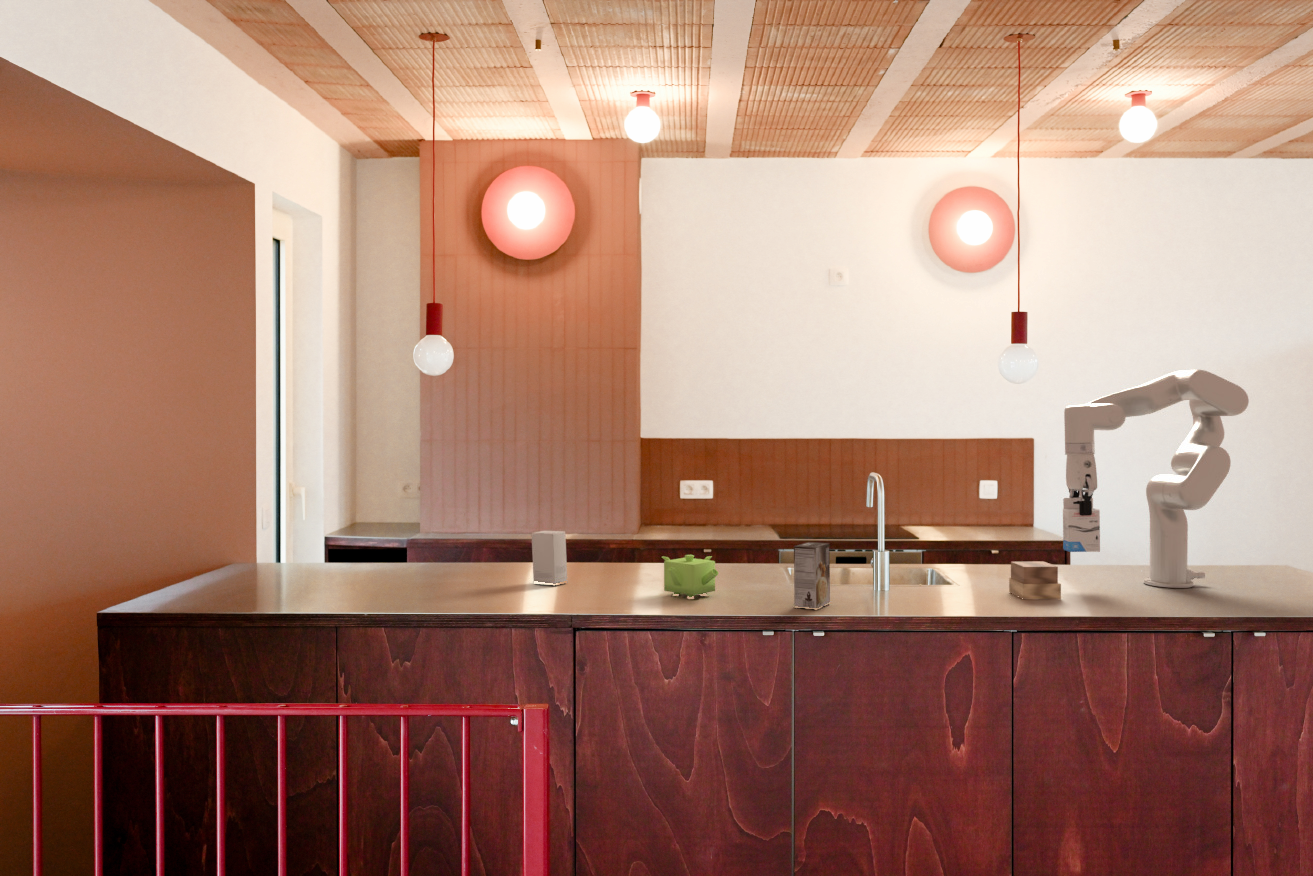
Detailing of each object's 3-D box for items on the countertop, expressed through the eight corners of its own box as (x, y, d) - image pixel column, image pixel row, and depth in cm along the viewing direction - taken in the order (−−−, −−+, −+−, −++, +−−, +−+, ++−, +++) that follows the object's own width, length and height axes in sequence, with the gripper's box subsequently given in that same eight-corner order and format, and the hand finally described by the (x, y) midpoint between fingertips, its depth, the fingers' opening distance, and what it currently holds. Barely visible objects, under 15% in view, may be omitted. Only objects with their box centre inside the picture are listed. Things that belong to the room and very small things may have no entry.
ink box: (1068, 552, 262) (1067, 499, 261) (1062, 549, 267) (1061, 497, 266) (1100, 552, 261) (1099, 498, 260) (1094, 549, 266) (1093, 497, 265)
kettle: (661, 591, 265) (661, 551, 265) (711, 590, 266) (711, 550, 266) (665, 601, 250) (665, 559, 250) (718, 600, 251) (718, 558, 251)
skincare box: (567, 583, 278) (567, 531, 277) (553, 587, 272) (553, 533, 272) (545, 581, 282) (545, 529, 282) (531, 584, 277) (530, 531, 276)
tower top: (1043, 577, 259) (1043, 561, 259) (1057, 583, 250) (1057, 566, 250) (1010, 578, 259) (1010, 561, 259) (1023, 583, 250) (1023, 567, 250)
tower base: (1045, 593, 259) (1045, 577, 259) (1060, 600, 249) (1060, 584, 249) (1009, 594, 259) (1009, 577, 259) (1022, 601, 249) (1022, 584, 249)
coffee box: (807, 602, 248) (807, 541, 247) (830, 604, 244) (830, 543, 244) (793, 608, 240) (793, 545, 239) (817, 611, 236) (816, 547, 236)
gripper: (1107, 450, 254) (1108, 517, 255) (1079, 447, 271) (1081, 510, 272) (1079, 451, 255) (1080, 518, 255) (1053, 448, 272) (1055, 511, 272)
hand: (1081, 513), depth 263 cm, fingers closed on ink box, 5 cm apart
